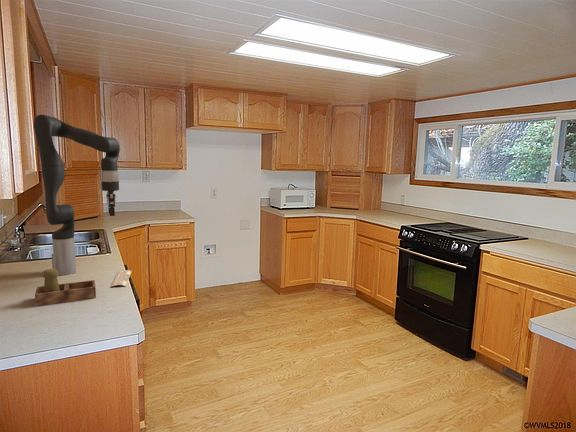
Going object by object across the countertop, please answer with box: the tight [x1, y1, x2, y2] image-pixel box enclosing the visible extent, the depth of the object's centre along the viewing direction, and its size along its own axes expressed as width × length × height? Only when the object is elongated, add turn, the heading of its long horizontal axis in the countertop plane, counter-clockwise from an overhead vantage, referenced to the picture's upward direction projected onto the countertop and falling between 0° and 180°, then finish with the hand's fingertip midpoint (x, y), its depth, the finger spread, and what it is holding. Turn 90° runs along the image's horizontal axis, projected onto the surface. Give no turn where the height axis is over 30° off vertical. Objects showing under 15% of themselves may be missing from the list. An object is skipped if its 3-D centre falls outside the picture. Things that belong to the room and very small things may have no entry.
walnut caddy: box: [34, 279, 97, 307], centre depth 155 cm, size 20×10×4 cm, turn 118°
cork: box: [42, 268, 60, 293], centre depth 152 cm, size 6×6×11 cm
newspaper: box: [110, 269, 132, 288], centre depth 181 cm, size 24×7×2 cm, turn 16°
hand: (111, 214), depth 184 cm, fingers open, 8 cm apart
